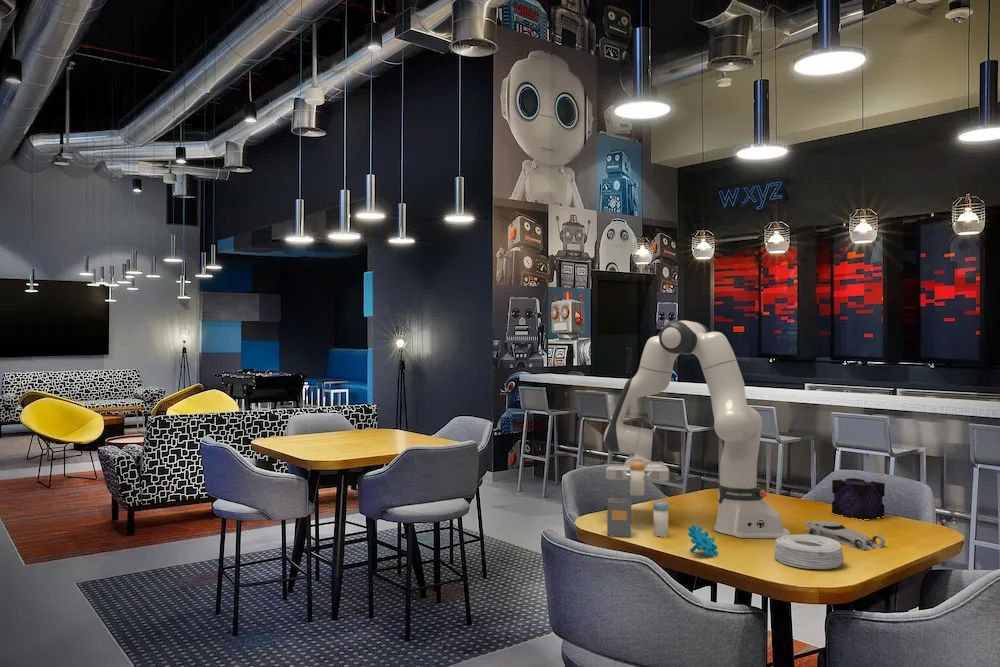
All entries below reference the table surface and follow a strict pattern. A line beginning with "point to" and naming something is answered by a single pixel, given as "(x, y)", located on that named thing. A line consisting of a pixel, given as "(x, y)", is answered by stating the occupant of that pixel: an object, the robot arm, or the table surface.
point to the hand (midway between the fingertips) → (637, 477)
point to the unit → (619, 517)
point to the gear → (702, 541)
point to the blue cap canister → (660, 518)
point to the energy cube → (858, 498)
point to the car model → (843, 535)
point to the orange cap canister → (637, 478)
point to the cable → (808, 551)
